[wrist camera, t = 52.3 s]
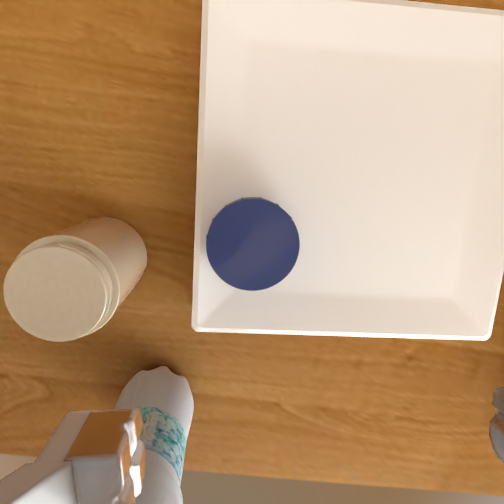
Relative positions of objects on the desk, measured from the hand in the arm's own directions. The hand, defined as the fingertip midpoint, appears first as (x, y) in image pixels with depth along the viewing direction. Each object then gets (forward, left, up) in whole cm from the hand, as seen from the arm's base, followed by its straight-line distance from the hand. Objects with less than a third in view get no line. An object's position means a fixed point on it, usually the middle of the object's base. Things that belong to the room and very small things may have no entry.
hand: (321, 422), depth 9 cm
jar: (-5, +11, -25) cm, 28 cm away
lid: (0, 0, -22) cm, 22 cm away
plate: (+7, -7, -25) cm, 27 cm away
